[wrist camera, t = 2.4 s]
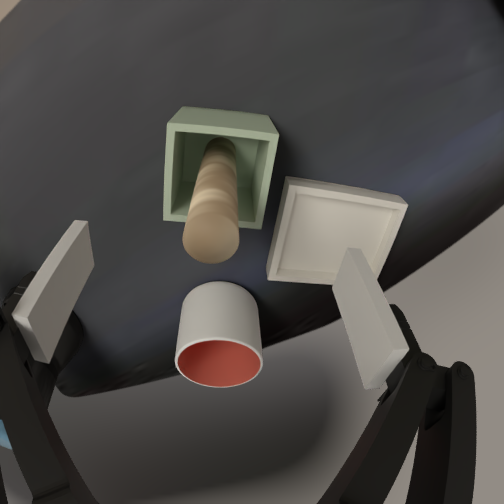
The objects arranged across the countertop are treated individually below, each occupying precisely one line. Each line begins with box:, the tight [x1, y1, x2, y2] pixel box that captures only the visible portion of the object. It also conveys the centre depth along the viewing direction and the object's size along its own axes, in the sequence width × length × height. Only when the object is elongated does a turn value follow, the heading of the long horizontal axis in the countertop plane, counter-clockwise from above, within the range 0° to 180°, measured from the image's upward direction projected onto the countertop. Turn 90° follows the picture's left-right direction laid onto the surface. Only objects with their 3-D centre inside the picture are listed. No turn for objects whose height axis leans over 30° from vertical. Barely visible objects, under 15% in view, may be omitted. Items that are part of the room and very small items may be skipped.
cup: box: [175, 281, 263, 387], centre depth 39 cm, size 10×10×10 cm
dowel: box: [183, 137, 239, 264], centre depth 23 cm, size 3×3×16 cm
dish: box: [266, 176, 408, 285], centre depth 36 cm, size 14×12×2 cm
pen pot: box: [163, 106, 279, 229], centre depth 27 cm, size 8×8×8 cm
